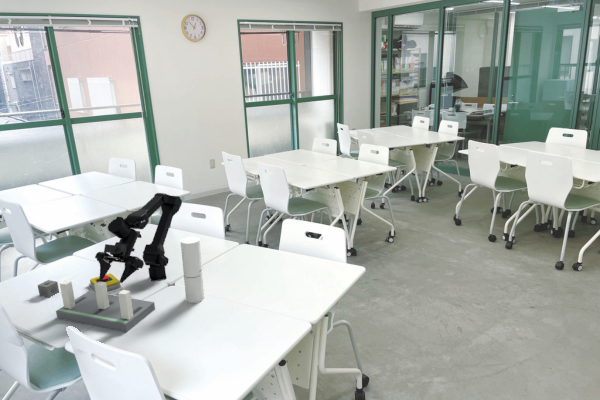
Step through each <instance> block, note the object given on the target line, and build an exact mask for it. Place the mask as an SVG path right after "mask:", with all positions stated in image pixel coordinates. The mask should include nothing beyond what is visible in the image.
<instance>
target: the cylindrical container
mask: <svg viewBox="0 0 600 400" xmlns="http://www.w3.org/2000/svg"><path fill="white" fill-rule="evenodd" d="M180 248H181V250H180V251H181V259H182V271H183V280H184V281H183V284H184V290H185V291H184V292H185V301H186V303H189V304H196V303H197V304H198V303H200V301H201V302H202V301H204V300H205V289H204V278H203V277H204V276H203V274H204V273H203V265H202V263H203V262H202V252H201V240H200V237H197V236H187V237H184V238H182V239H180Z"/></svg>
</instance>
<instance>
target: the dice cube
mask: <svg viewBox="0 0 600 400" xmlns="http://www.w3.org/2000/svg"><path fill="white" fill-rule="evenodd" d="M37 289H38V293H39V294H38V295H39V297H41V298H45V299H46V298H47V299H50V298H52V297H54V296H55V294H56V295H58V294H59V293H60V289H59V283H58V281H56V280H50V279H48V280H46V281H44V282H42V283H39V284H37ZM57 293H58V294H57ZM53 295H54V296H53ZM51 296H52V297H51Z"/></svg>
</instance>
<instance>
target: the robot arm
mask: <svg viewBox="0 0 600 400" xmlns="http://www.w3.org/2000/svg"><path fill="white" fill-rule="evenodd" d="M182 204H183V201H182V198H181V197H180V196H177V195H170V194H167V193H164V192H157V193H155V194H154V196H153V197H152V198H151V199H150V200H149V201H147V203H145V204H144V205H143V206H141V208H140V209H138V210H134V211H133V212H131V213H129V214H128V215H127V216H126V217H125V218H123V217H122V216H116V218H115V219H112V220H111V221H110V223H109V224H108V226H107V230H108V232H109V233H111V234H112V235H114V236H115V237H116V238H118V239H119V242H115V243H114V244H107V243H106V244H105V245H104V249H103V251H98V252H96V254H95V256H94V259H96V261H97V262H98V263H99V268H100V269H99V276H100V280H102V279H103V278H104V276H105V275H106V274H108V271H109V270H110V269H111V267H112V263H113V262H115V263H122V264H124V269H123V272H122V274H121V276H120V279H119V281H120V284H123V283H124V282H125V281H126V280H127V279H128V278H130V276H131V275H132V274H134V273H135V272H137V271H139V270H140V269H143V267H144V265H145V266H149V267H148V277H149V279H150V282H155V281H161V280H167V274H166V267H167V266H168V264H169V260H170V258H168V257H167V256H166V254H165V253H166V251H165V247H164V244H165V242H166V238H167V235H168V233H169V230H170V227H171V223H172V221H173V218H174V216H175V215H177V213H178V212H179V211H180V209H181V207H182ZM160 208H161V215H160V219H159V221H158V224H157V227H156V229H155V233H154V236H153V239H152V241H151V242H150V244H148V243H146V245H145V246H144V249H143V251H142V259H143V260H142V259H141V258H139V257H138V256H134V255H131V254H132V252H135V250H136V249H135V247H134V246H135V244H136V242H137V240H138V238H139V239H141V238H142V235H141V231H140V230H144V229H145V228H146V227H147V226H148V223H150V217H152V216H153V215H154V214H155V213H156V212H157V211H158V209H160ZM138 230H139V231H138Z"/></svg>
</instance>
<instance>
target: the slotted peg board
mask: <svg viewBox="0 0 600 400" xmlns="http://www.w3.org/2000/svg"><path fill="white" fill-rule="evenodd" d="M59 287H60V292H61V298H62V304H63V306H62V307H60V308H59V309H57V310H56V311H55V315H56V317H57V319H59V320H64V321H70V322H74V323H80V324H85V325H90V326H93V327H94V326H95V327H100V328H105V329H110V330H113V331H115V330H116V331H119V332H125V333H127V332H129V331H130V330H131V329H133V328H134V327H136V326H137V325H138V324H139V323H140V322H141V321H143V320H144V319H145V318H146V317H147V316H149V315H150V314H151V313H153V312H154V311H155V310H156V305H155V301H150V300H149V301H148V300H144V299H137V298H132V296H131V294H132V293H131V290H126V289H121V290H120V291H119V292H118V295H113V294H108V299H109V307H108V308H106V309H99V308H98V304H97V298H96V291H91V290H89V291H86V292H85V293H83V294H82V295H80V296H78V297H77V298H75V294H74V289H73V283H72V281H69V280H63V281H61V282H60V283H59Z"/></svg>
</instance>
